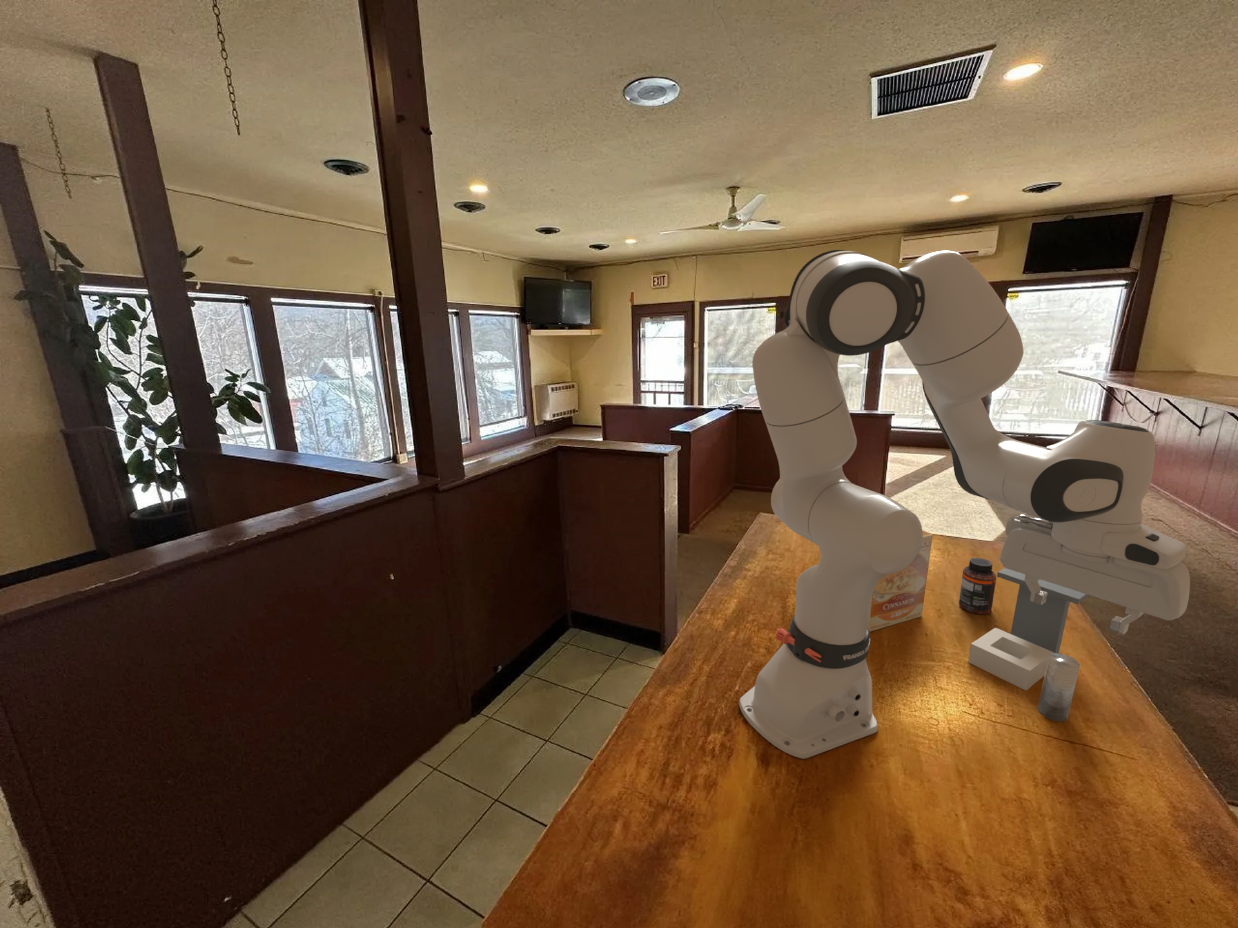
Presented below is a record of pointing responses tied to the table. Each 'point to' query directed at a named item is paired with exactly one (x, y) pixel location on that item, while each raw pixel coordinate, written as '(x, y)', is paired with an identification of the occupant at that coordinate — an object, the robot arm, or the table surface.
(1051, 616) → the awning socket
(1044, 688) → the peg
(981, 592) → the supplement bottle
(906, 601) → the coffeecake box
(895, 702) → the table surface
